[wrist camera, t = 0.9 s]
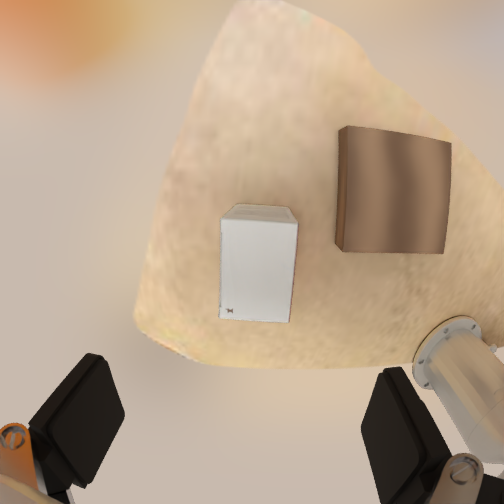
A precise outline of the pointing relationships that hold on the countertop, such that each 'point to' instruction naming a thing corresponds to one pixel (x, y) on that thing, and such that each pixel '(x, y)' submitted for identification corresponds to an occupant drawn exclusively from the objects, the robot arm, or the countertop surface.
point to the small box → (257, 263)
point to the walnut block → (392, 192)
